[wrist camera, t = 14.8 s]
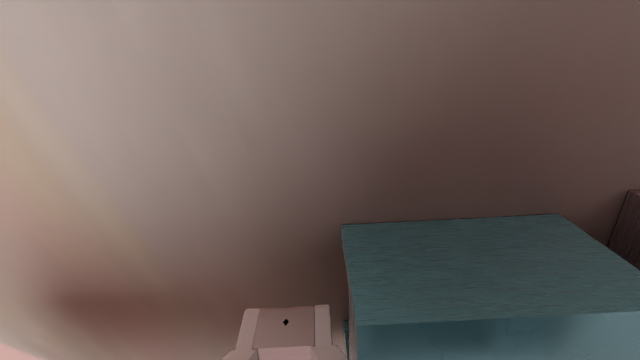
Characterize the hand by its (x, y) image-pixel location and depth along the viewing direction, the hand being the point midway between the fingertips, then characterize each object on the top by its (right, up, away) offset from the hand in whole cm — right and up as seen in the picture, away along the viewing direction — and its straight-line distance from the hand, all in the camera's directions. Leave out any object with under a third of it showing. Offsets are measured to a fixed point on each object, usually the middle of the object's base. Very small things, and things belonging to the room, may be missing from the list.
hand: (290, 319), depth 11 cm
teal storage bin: (+6, +1, +2) cm, 6 cm away
